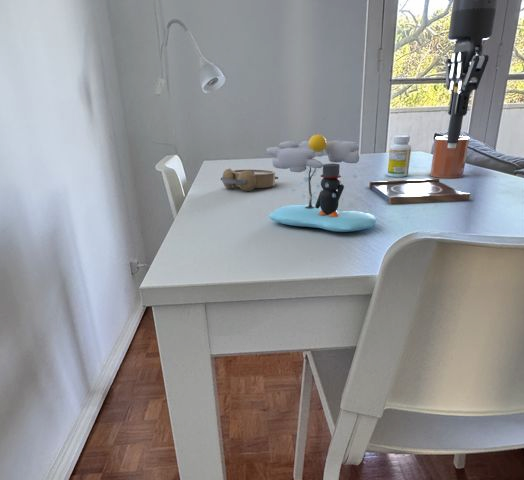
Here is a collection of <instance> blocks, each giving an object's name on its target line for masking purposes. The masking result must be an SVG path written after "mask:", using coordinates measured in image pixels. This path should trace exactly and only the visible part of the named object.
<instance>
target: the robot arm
mask: <svg viewBox="0 0 524 480" xmlns="http://www.w3.org/2000/svg"><path fill="white" fill-rule="evenodd" d="M498 2H499V0H452V7H451V16H450V22H449V28H448V29H449V30H448V36H447V39H448V41H450V42H455V45H454V48H453V50H452V55H451V58H446V59H445V63H444V64H445V89H446V91H448V92H449V94H450V98H449V105H448V111H447V115H448V116H450V115H451V109H452V102H453V96H454V88H455V87H458V94H457V100H456V106H455V112H454V114H455V116H463V117H464V116H466V115H467V114H468V108H469V103H470V96H471V94H473V93H474V92H473V91H476V90H477V89H478V88H479V85H480V83H481V80H482V77H483V75H484V73H485V70H486V67H487V64H488V62H489V55H488V54H484V55H483V41H485V40H488V39H490V38H491V37H492V35H493V31H494V24H495V19H496V18H495V17H496V13H497V7H498Z"/></svg>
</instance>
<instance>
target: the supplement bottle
mask: <svg viewBox="0 0 524 480" xmlns="http://www.w3.org/2000/svg"><path fill="white" fill-rule="evenodd" d="M410 137H411V136H410V135H407V134H405V135H404V134H399V135H394V136H393V138H392V139H393V140H392V143H393V144H391V145H390V146H389V153H388V164H387V176H389V177H392V178H393V177H394V178H404V177H407V176H408V175H409V168H410V159H411V155H412V153H411V151H412V146H411V145H410V144H409V143H410V140H411V139H410Z"/></svg>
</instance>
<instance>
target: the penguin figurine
mask: <svg viewBox="0 0 524 480" xmlns="http://www.w3.org/2000/svg"><path fill="white" fill-rule="evenodd" d="M359 150H360V147H359V144H358V143H357V142H356V141H351V140H342V139H334V140H328V141H327V139H326V137H325V136H324V135H322V134H319V133H318V134H314V135H312V136H311V137H310V136H309V140H305V141H301V142H300V143H298V142H297V141H294V140H286V141H282V142H279V146H271V147H267V148H266V152H267V154H268V155H269V156H272V157H273V159H272V161H271V162H272V166H273V167H274V168H275V169H280V170H281V169H282V170H286V169H287V170H288V169H289V171H290V172H292V173H303V172H304V174H305V175H307V174H308V177H307V176H304V177H303V179H304V182H302V183H301V182H300V184H301V187H303V188H305V187H306V185H305V183H308V194H309V195H308V204H293V205H284V206H281V207H278V208H276V209H275V210H273V211H272V212H271V213H270V214H269V215H268V217H269V218H270V220H272V221H274V222H277V223H279V224H282V225H287V226H294V227H302V228H303V227H304V228H316V229H321V230H325V231H329V232H330V231H331V232H335V233H336V232H337V233H350V232H356V231H363V230H367V229H370V228H372V227H374V226H375V224H376V223H377V218H376V217H375V215H373V214H372V213H368V212H364V211H360V210H359V211H358V210H340V211H339V210H338V208H339V201H340V202H341V203H343V202H344V198H341V197H342V194H343V191H344V189H345V185H344V183H343V184H342V179H340V178H341V177H342V175H341V174H340V164H341V163H342V162H343V163H346V164H357V163H358V162H359V161H360V154H359V152H356V151H359ZM324 152H325V153H326V154H327V158H328V161H329V162H330V163H322V162H321V161H320V160H318V159H316V157H323V156H324ZM339 163H340V164H339ZM308 168H309V169H308ZM321 168H322V174H321V175H320V177H321V178H322V179H321V181H320V184H319V183H318V182H317V183H316V184H315V188H316V189H317V190H318V188H321V190H320V191H319V193H318V197H317V196H316V191H314V193H313V194H312V185H311V180H312V177H315V176H316V175H317V172H318V169H321ZM312 169H313V170H312ZM316 169H317V170H316ZM311 173H312V174H311ZM353 179H355V180H357V179H358V175H353ZM295 191H296V189H295V188H290V192H291V194H294V193H296V192H295ZM304 193H305V192H303V193H301V194H300V195H301V198H302V199H305V198H306V194H304ZM312 202H313V203H314V204H313V203H312ZM347 206H349V208H350V207H352V206H353V203H351V202H350V201H349V202H348V205H347Z"/></svg>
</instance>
